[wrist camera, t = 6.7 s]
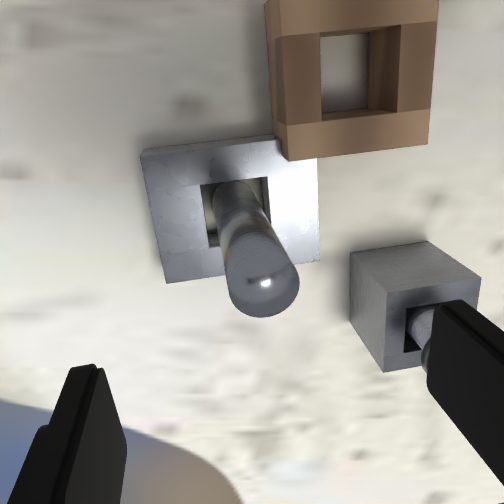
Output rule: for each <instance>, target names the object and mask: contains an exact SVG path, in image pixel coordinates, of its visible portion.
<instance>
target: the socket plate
mask: <svg viewBox="0 0 504 504" xmlns="http://www.w3.org/2000/svg"><path fill="white" fill-rule="evenodd" d="M140 159H141V164H142V169H143V174H144V179H145V184H146V188H147V193H148V198H149V203H150V208H151V213H152V218H153V222H154V227H155V232H156V237H157V242H158V247H159V251H160V256H161V261H162V266H163V271H164V276H165V280H166V284H169V283H175V282H182V281H189V280H195V279H202V278H209V277H215V276H222V275H226V274H225V269H224V264H223V259H222V253H221V248H220V243H219V237H218V233H211V234H207V228H206V221H205V214H204V208H203V201H202V195H201V188H200V185H203V184H211V183H219V182H226V181H234V180H242V179H250V178H257V177H262V189H263V200H264V212H265V215H266V217H267V219H268V220H269V222H270V224H271V226H272V228H273V229H274V231H275V233H276V235H277V236H278V238H279V240H280V242H281V244H282V245H283V247H284V249H285V251H286V252H287V254H288V256H289V258H290V260H291V261H292V263H293V265H295V264H302V263H308V262H315V261H320V248H319V216H318V183H317V158H316V159H308V160H300V161H292V162H288V161H287V160H286V159H285V158H284V157H283V148H282V139H281V138H279V137H278V136H276V135H275V134H268V135H260V136H251V137H243V138H235V139H226V140H218V141H210V142H201V143H193V144H185V145H176V146H168V147H159V148H151V149H144V151H143V152H142V154H141V156H140Z"/></svg>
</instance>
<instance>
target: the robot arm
mask: <svg viewBox="0 0 504 504" xmlns="http://www.w3.org/2000/svg"><path fill="white" fill-rule="evenodd" d="M427 387H428V390H429V392H430V393H431V395H432V396H433V397H434V399H435V400H436V401H437V402H438V404H439V405H440V406H441V408H442V409H443V410H444V411H445V413H446V414H447V415H448V416H449V418H450V419H451V420H452V421H453V423H454V424H455V425H456V426H457V428H458V429H459V430H460V431H461V433H462V434H463V435H464V436H465V438H466V439H467V440H468V441H469V443H470V444H471V445H472V447H473V448H474V449H475V450H476V452H477V453H478V454H479V455H480V457H481V458H482V459H483V460H484V462H485V463H486V464H487V465H488V467H489V468H490V469H491V470H492V472H493V473H494V474H495V475H496V477H497V478H498V479H499V481H500V482H501V483H502V484H503V486H504V331H502V330H501V329H500V328H499V327H497V326H496V325H495V324H493V323H492V322H491V321H490V320H488V319H487V318H486V317H484V316H483V315H482V314H481V313H479V312H478V311H477V310H475V309H474V308H473V307H472V306H470V305H469V304H468V303H466V302H465V301H464V300H462V299H457V300H451V301H446V302H441V303H440V304H439V305H438V308H436V309H435V310H434V312H433V320H432V330H431V340H430V350H429V360H428V370H427ZM126 457H127V444H126V439H125V436H124V433H123V430H122V426H121V423H120V420H119V416H118V413H117V410H116V407H115V403H114V400H113V397H112V394H111V390H110V387H109V384H108V381H107V377H106V374H105V371H104V369H103V368H98V369H97V367H96V365H95V364H89V365H83V366H77V367H72V368H71V369H70V370H69V373H68V375H67V378H66V380H65V383H64V386H63V388H62V391H61V393H60V396H59V399H58V401H57V404H56V406H55V409H54V412H53V414H52V417H51V419H50V422H49V424H48V425H43V426H41V427H40V428H39V429H38V431H37V433H36V434H35V437H34V439H33V442H32V444H31V447H30V449H29V451H28V454H27V456H26V459H25V461H24V464H23V466H22V469H21V471H20V473H19V476H18V478H17V481H16V483H15V486H14V488H13V490H12V493H11V495H10V498H9V500H8V503H7V504H120V497H121V491H122V485H123V478H124V471H125V464H126ZM500 504H504V503H500Z"/></svg>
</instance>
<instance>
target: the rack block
mask: <svg viewBox="0 0 504 504" xmlns="http://www.w3.org/2000/svg"><path fill="white" fill-rule="evenodd" d="M438 6H439V0H268V1H267V2H266V3H265V4H264V7H265V21H266V35H267V49H268V63H269V77H270V91H271V105H272V118H273V132H274V134H275V135H276V136H278V137H279V138H281V139H282V148H283V157H284V158H285V159H286V160H287V161H288V162H292V161H300V160H308V159H316V158H323V157H331V156H339V155H347V154H355V153H363V152H371V151H379V150H387V149H395V148H402V147H410V146H418V145H426V144H428V133H429V120H430V107H431V95H432V82H433V69H434V57H435V44H436V31H437V19H438ZM359 33H369V55H368V107H367V108H361V109H353V110H344V111H335V112H327V113H322V112H321V71H320V37H329V36H339V35H349V34H359Z"/></svg>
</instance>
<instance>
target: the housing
mask: <svg viewBox="0 0 504 504" xmlns="http://www.w3.org/2000/svg"><path fill="white" fill-rule="evenodd" d="M480 284H481V277H480V276H478V275H477V274H475V273H474V272H472V271H471V270H470V269H468V268H467V267H465V266H464V265H462V264H461V263H459V262H458V261H456V260H455V259H453V258H452V257H451V256H449V255H448V254H446V253H445V252H443V251H442V250H440V249H439V248H437V247H436V246H434V245H433V244H432V243H430V242H429V241H427V242H420V243H414V244H407V245H400V246H393V247H387V248H380V249H373V250H367V251H360V252H353V253H350V323H351V325H352V326H353V328H354V329H355V331H356V332H357V334H358V335H359V337H360V338H361V340H362V341H363V343H364V344H365V346H366V347H367V349H368V350H369V352H370V353H371V355H372V356H373V358H374V359H375V361H376V363H377V364H378V366H379V367H380V369H381V370H382V372H383V373H384V372H390V371H396V370H401V369H407V368H412V367H418V366H422V364H421V353H422V349H421V347H420V346H419V345H418V344H417V343H416V342H415V340H414V339H413V338H412V337H411V336H410V335H409V333H408V332H407V331H406V330H405V322H406V308H410V307H416V306H422V305H428V304H435V303H436V304H437V305H439V304H440V303H441V302H446V301H451V300H457V299H462V300H464V301H465V302H466V303H468V304H469V305H470V306H472V307H473V308H474V309H475V310H477V304H478V297H479V291H480Z"/></svg>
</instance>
